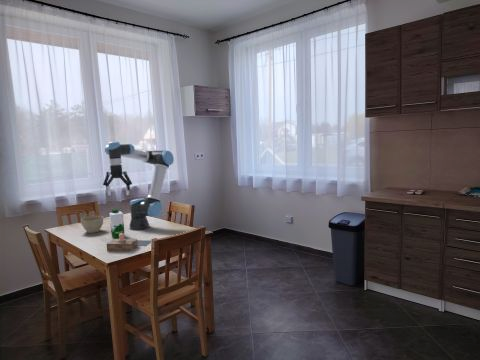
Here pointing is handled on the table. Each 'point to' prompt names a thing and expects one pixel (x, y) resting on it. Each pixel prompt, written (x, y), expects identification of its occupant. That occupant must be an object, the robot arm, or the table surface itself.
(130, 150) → the robot arm
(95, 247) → the table surface
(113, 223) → the milk carton
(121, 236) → the peg
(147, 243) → the mat
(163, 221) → the table surface
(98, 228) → the planter bowl
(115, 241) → the hole block
